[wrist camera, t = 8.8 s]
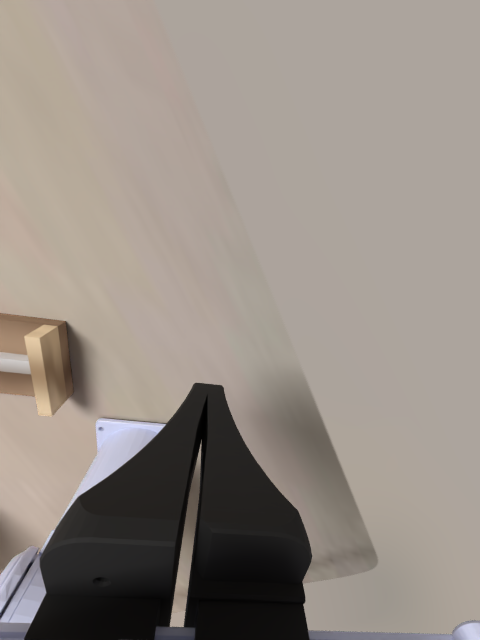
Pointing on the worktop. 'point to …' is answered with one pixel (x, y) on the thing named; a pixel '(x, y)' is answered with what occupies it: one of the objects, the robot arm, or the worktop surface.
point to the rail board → (35, 360)
